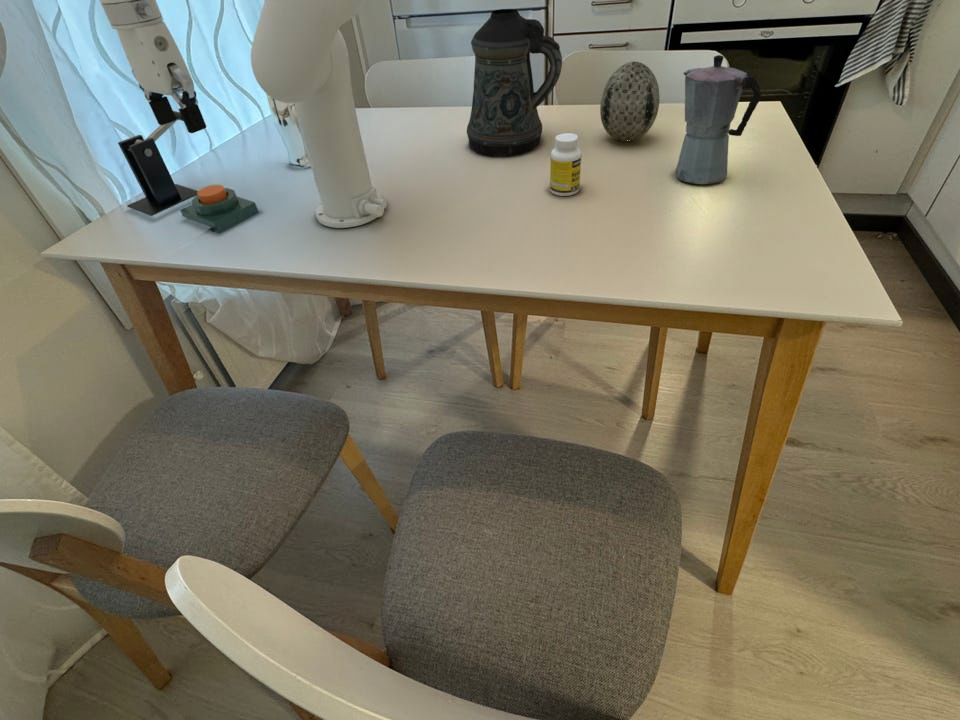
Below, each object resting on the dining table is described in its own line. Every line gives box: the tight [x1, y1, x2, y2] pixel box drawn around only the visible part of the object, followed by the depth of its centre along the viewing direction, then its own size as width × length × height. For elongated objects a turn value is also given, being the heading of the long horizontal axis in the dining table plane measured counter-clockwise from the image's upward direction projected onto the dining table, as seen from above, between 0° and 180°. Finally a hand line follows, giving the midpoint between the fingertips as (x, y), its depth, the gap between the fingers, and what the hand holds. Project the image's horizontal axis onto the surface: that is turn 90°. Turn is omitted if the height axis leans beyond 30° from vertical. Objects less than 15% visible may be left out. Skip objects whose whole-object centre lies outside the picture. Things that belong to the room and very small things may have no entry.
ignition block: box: [180, 187, 259, 235], centre depth 103 cm, size 11×9×4 cm
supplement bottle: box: [549, 132, 582, 197], centre depth 98 cm, size 5×5×10 cm
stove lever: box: [127, 110, 184, 155], centre depth 105 cm, size 12×6×2 cm, turn 144°
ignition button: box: [196, 184, 227, 204], centre depth 102 cm, size 5×5×2 cm
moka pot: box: [675, 54, 762, 185], centre depth 95 cm, size 10×15×20 cm, turn 36°
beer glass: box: [265, 93, 311, 169], centre depth 117 cm, size 7×7×15 cm
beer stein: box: [466, 8, 563, 158], centre depth 113 cm, size 16×19×25 cm
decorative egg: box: [599, 61, 661, 143], centre depth 112 cm, size 12×12×15 cm
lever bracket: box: [117, 134, 199, 217], centre depth 107 cm, size 11×9×13 cm
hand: (182, 126), depth 96 cm, fingers open, 9 cm apart
